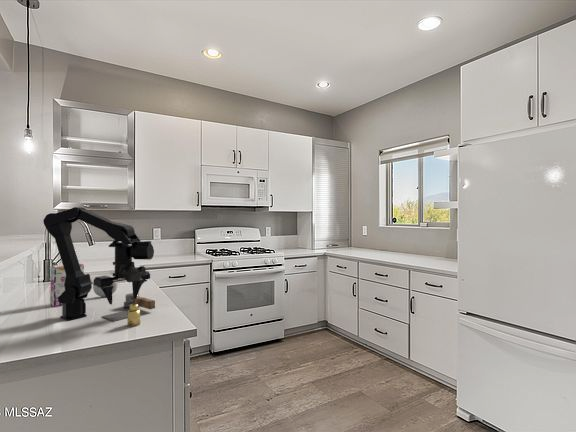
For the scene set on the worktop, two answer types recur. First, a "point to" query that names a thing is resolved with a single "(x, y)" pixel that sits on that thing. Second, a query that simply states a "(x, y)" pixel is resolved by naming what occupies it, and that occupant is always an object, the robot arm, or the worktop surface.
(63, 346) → the worktop surface
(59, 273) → the candy bar box
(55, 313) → the worktop surface
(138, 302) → the hammer
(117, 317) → the rubber mat
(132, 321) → the brass calibration weight
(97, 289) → the donut
